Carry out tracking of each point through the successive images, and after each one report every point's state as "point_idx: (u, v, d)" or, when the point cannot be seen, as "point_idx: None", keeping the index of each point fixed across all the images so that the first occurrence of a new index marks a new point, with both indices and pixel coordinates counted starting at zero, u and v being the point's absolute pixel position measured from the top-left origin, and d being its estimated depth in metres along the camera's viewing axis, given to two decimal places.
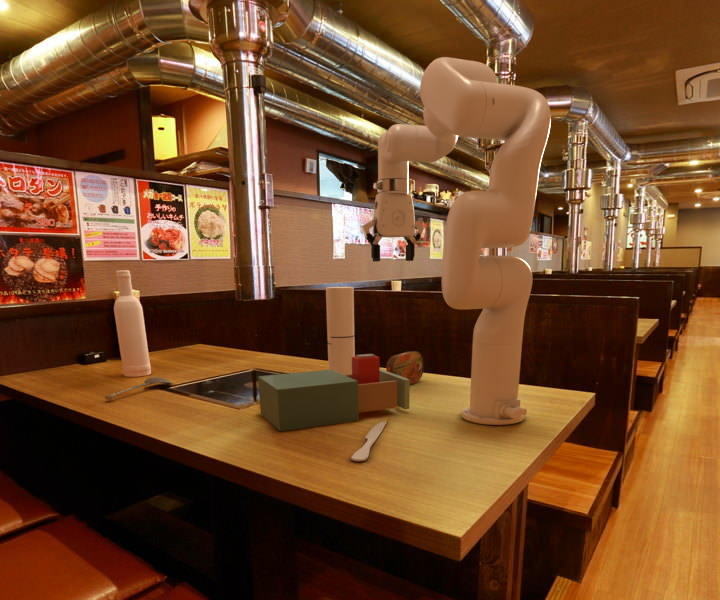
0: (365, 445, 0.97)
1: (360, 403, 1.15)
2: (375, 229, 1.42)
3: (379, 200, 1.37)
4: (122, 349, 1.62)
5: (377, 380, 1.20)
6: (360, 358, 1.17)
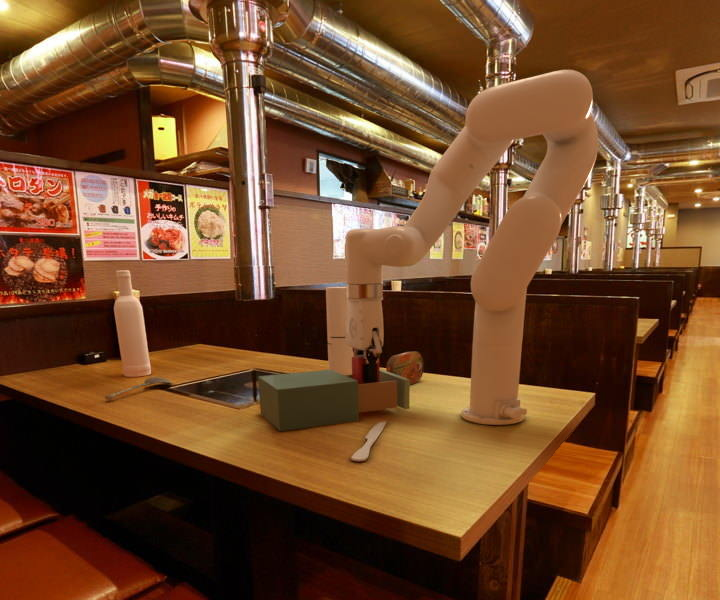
0: (365, 445, 0.97)
1: (360, 403, 1.15)
2: None
3: None
4: (122, 349, 1.62)
5: (377, 380, 1.20)
6: (360, 358, 1.17)
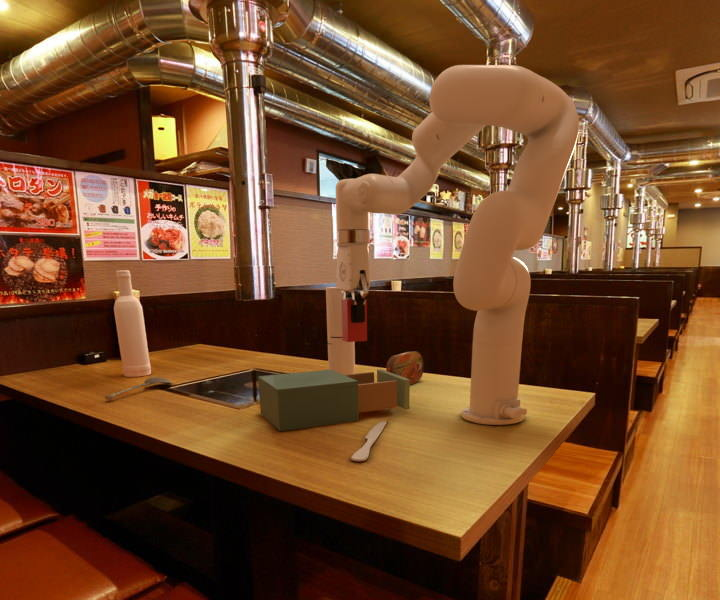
0: (365, 445, 0.97)
1: (360, 403, 1.15)
2: None
3: None
4: (122, 349, 1.62)
5: None
6: (349, 299, 1.29)
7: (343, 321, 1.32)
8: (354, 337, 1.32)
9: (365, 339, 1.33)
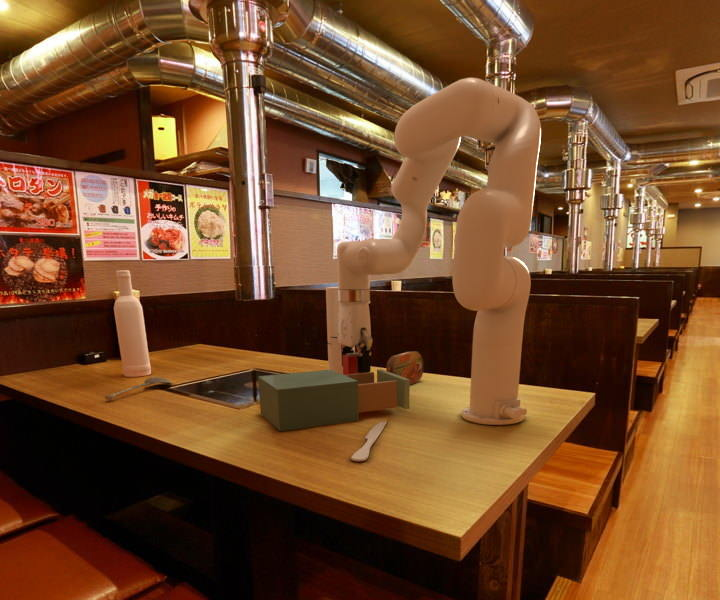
0: (365, 445, 0.97)
1: (360, 403, 1.15)
2: None
3: None
4: (122, 349, 1.62)
5: None
6: (350, 356, 1.34)
7: None
8: None
9: None
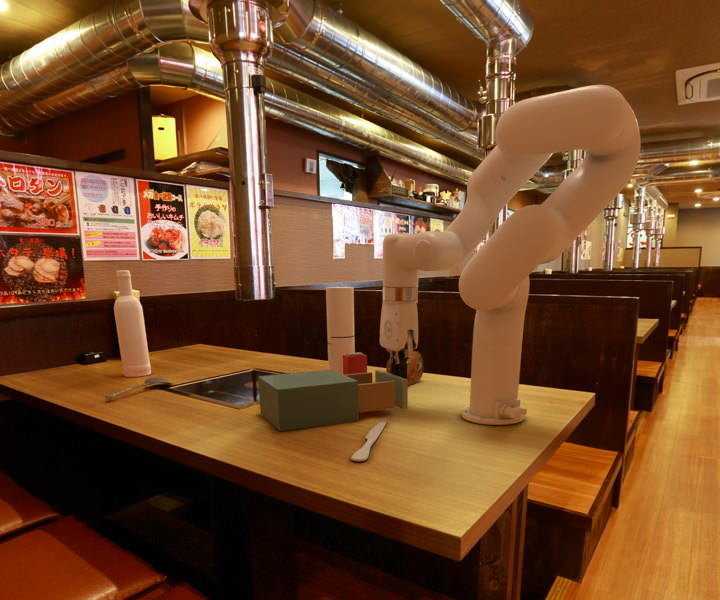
0: (365, 445, 0.97)
1: (358, 403, 1.15)
2: None
3: None
4: (122, 349, 1.62)
5: None
6: (350, 356, 1.34)
7: None
8: None
9: None
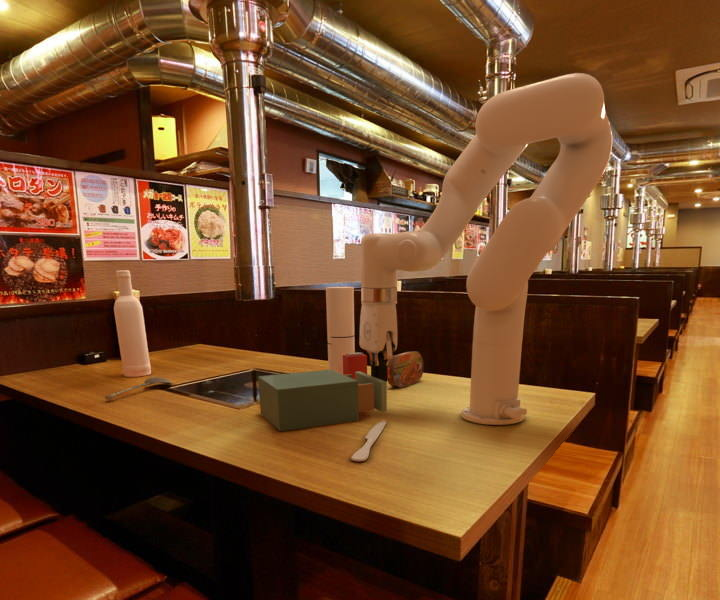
0: (365, 445, 0.97)
1: None
2: None
3: None
4: (122, 349, 1.62)
5: None
6: (350, 356, 1.34)
7: None
8: None
9: None
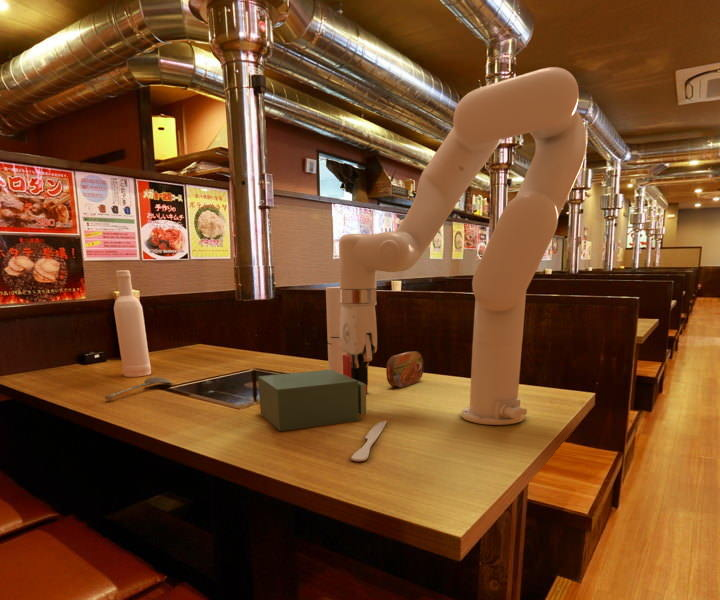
0: (365, 445, 0.97)
1: None
2: None
3: None
4: (122, 349, 1.62)
5: None
6: None
7: None
8: None
9: (366, 392, 1.38)
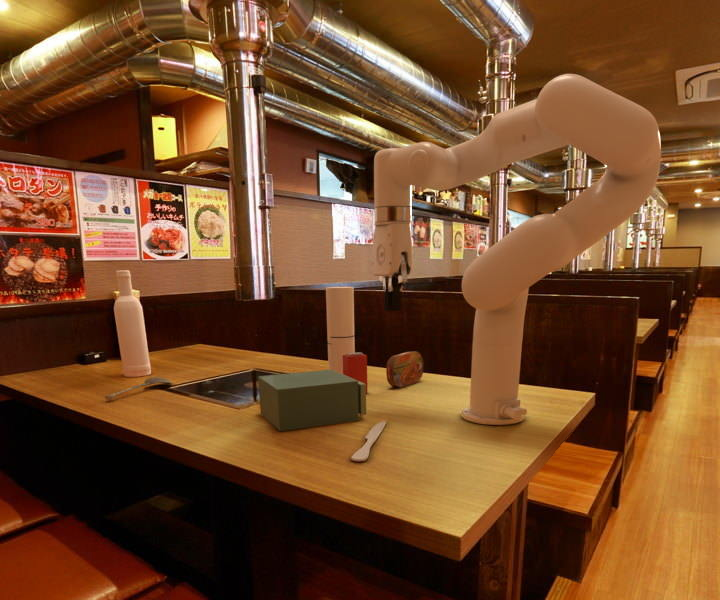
0: (365, 445, 0.97)
1: None
2: None
3: None
4: (122, 349, 1.62)
5: (365, 375, 1.36)
6: (350, 356, 1.34)
7: None
8: None
9: (366, 392, 1.38)
